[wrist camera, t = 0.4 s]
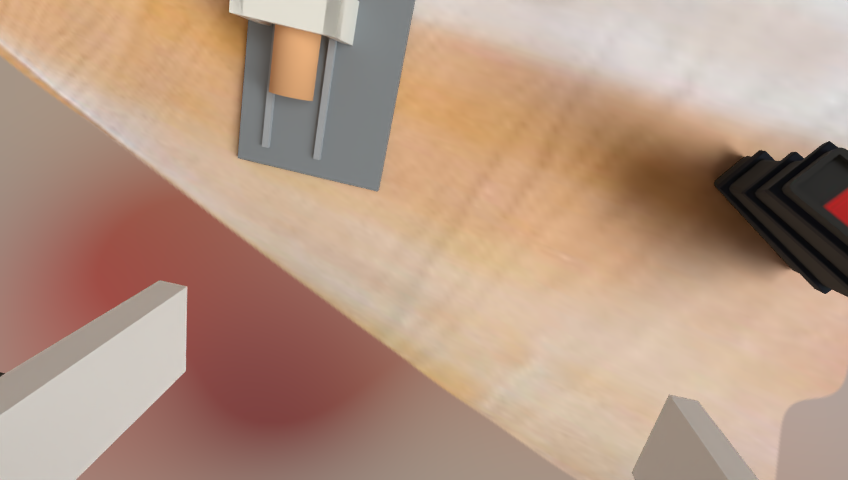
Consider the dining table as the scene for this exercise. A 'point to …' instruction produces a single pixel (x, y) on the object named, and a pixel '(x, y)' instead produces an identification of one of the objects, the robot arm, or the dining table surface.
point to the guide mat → (329, 100)
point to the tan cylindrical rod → (294, 63)
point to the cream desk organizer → (303, 15)
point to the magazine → (798, 209)
